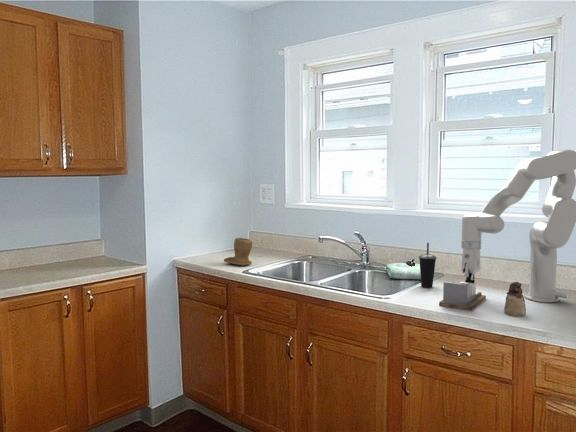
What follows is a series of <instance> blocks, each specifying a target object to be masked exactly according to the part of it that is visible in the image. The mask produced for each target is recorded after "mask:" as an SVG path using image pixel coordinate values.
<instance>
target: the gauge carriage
mask: <svg viewBox="0 0 576 432" xmlns="http://www.w3.org/2000/svg"><path fill="white" fill-rule="evenodd" d="M459 283H466V284H470V297H469V298H471V297H473V296H474V295H476V294H477V292H476V290H477V289H476V288H477V283H476V282H474V283H468V282H465V281H459Z"/></svg>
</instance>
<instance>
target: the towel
mask: <svg viewBox="0 0 576 432" xmlns="http://www.w3.org/2000/svg"><path fill="white" fill-rule="evenodd" d="M406 263H407V262H393V263H387V264H386V267H387V270H386V272H387V274H388V277H389V278H390V279H395V280H415V281H416V280H417V281H419V280H420V281H421V274H420V263H415V266H412V267H411V266H408V265H407V264H406Z"/></svg>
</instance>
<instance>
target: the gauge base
mask: <svg viewBox="0 0 576 432" xmlns="http://www.w3.org/2000/svg"><path fill="white" fill-rule="evenodd" d="M486 298H487V295H484V294H482V292H481V291H478V292H476V295H474V296H473V297H471V298H469V305H468V306H461V305H455V304H449V303H443V299H442V300H440V301H439V302H438V305H439V306H440V307H444V308H451V309H456V310H461V311H463V310H464V311H469V312H472V311H473V310H474V309H475V308H477V307H478V306H479V305H480V304H482V303H483V302H484V301H486ZM439 306H438V307H439Z"/></svg>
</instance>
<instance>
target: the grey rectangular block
mask: <svg viewBox="0 0 576 432" xmlns="http://www.w3.org/2000/svg"><path fill="white" fill-rule="evenodd" d="M459 282H460V281H459ZM459 282H457V281H451V280H450V281H449V280H445V281H443V288H442V291H443V293H442V294H443V295H442V300H443V303H449V304H455V305H461V306H468V305H469V297H470V284H466V283H459Z"/></svg>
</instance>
